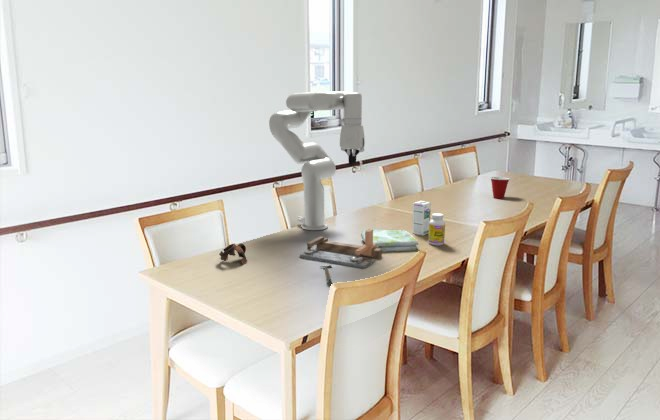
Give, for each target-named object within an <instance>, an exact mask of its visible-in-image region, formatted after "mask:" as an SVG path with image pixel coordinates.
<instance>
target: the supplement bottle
mask: <svg viewBox="0 0 660 420" xmlns="http://www.w3.org/2000/svg"><path fill="white" fill-rule="evenodd" d="M431 218H432V219H430V222H429V233H428V244H430V245H432V246H443V245H444V244H445V236H446V234H445V233H446V221H445V220H444V214H443V213H440V212H436V213H435V212H434V213H432V214H431Z"/></svg>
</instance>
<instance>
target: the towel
mask: <svg viewBox="0 0 660 420" xmlns="http://www.w3.org/2000/svg"><path fill="white" fill-rule="evenodd" d="M372 229H373V228H372ZM367 230H368V229H364V230H362V231H361V233H360V237H361V238H362V241H363V242H364V243H365V231H367ZM373 244H376V248H379V249H382V252H383V253H384V252H397V251H398V252H400V251H401V252H404V251H416V250H417V248H418V247H417V246H418V245H419V241H418V240H417V238H415V237H414V235H412V233H410V232H409V231H407V230H405V229H375V228H374V229H373Z"/></svg>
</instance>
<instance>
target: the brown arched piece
mask: <svg viewBox="0 0 660 420" xmlns="http://www.w3.org/2000/svg"><path fill="white" fill-rule="evenodd" d="M235 251H236V253H237V255H238V258H241V259H240V262H241V264H242V265H245V264H246V263H247V262H248V259H247V257H246V256H247V255H246V252H247V248H246V245H245V244H244V243H239V244H237V245H236V243H231V244H229V245H227V246H226V247H224V248H223V249H222V250H221V251H220V252H219V256H220V261H227V260H229V256H232V257H233V256H234V257H235V256H236V253H235Z"/></svg>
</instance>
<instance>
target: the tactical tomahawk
mask: <svg viewBox="0 0 660 420" xmlns="http://www.w3.org/2000/svg"><path fill="white" fill-rule="evenodd" d="M331 268H332V264H331V265H330V264H329V265H326V266H325V265H324V266H323V265H321V267H319V270H321V269H323V271H324V272H325V278H326V285H329V286H331V284H332V285H333V281H332V277H331V275H330V272H329V269H331Z"/></svg>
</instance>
